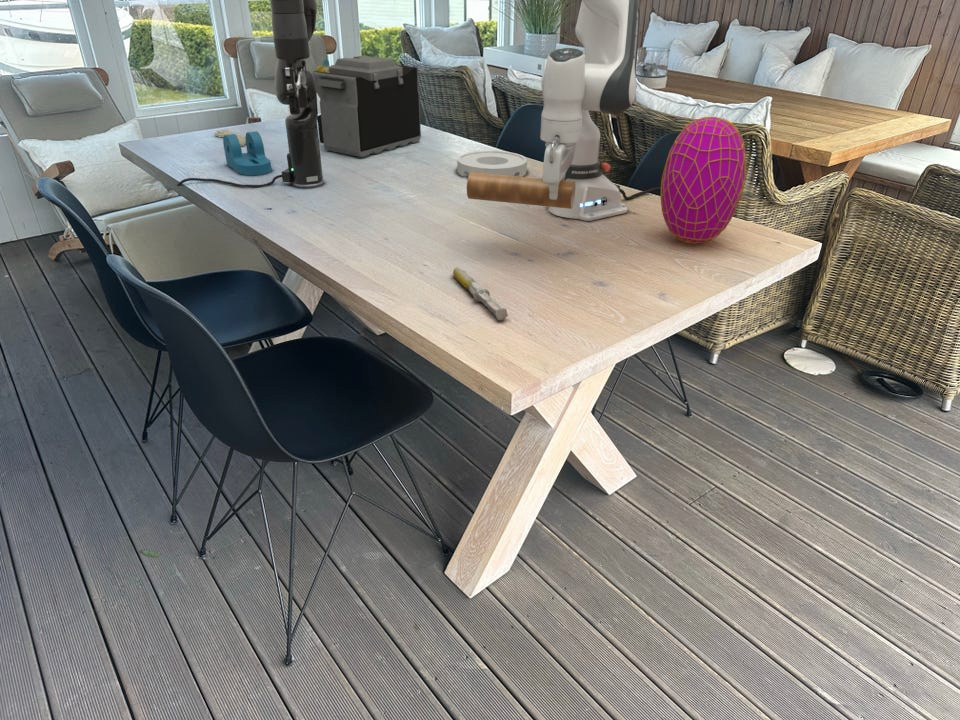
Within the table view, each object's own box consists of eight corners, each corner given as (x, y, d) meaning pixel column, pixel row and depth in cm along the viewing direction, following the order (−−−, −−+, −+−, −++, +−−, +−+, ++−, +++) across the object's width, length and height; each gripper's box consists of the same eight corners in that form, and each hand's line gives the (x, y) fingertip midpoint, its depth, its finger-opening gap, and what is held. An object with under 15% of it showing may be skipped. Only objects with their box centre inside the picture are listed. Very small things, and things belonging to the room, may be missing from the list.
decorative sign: (264, 139, 260) (239, 143, 254) (265, 142, 261) (240, 146, 255) (233, 128, 277) (209, 131, 271) (233, 130, 277) (209, 134, 271)
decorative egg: (709, 261, 163) (734, 131, 148) (638, 240, 174) (655, 118, 159) (744, 240, 175) (770, 118, 160) (676, 222, 187) (694, 107, 171)
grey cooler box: (383, 133, 276) (378, 52, 261) (425, 141, 265) (422, 56, 250) (314, 150, 251) (304, 61, 235) (358, 160, 240) (350, 67, 224)
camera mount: (227, 164, 233) (221, 132, 227) (257, 160, 238) (252, 129, 233) (244, 176, 220) (239, 143, 215) (276, 172, 225) (271, 139, 220)
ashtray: (459, 161, 239) (459, 150, 237) (525, 163, 239) (526, 151, 237) (455, 180, 219) (455, 167, 217) (527, 181, 219) (528, 169, 217)
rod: (466, 202, 159) (466, 176, 156) (473, 194, 164) (473, 169, 161) (570, 212, 154) (572, 185, 151) (574, 204, 159) (576, 178, 156)
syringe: (449, 274, 155) (449, 263, 153) (465, 272, 156) (464, 260, 154) (490, 323, 135) (491, 310, 133) (508, 319, 136) (508, 307, 134)
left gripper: (300, 38, 148) (309, 117, 156) (313, 32, 160) (320, 105, 169) (265, 38, 148) (276, 116, 156) (281, 32, 160) (290, 105, 169)
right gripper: (567, 143, 140) (562, 209, 147) (581, 122, 157) (576, 182, 164) (537, 140, 141) (533, 206, 148) (554, 121, 158) (550, 180, 165)
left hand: (299, 110), depth 163 cm, fingers open, 8 cm apart
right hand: (556, 193), depth 156 cm, fingers closed on rod, 6 cm apart
